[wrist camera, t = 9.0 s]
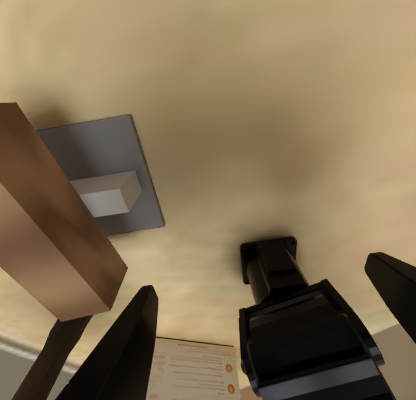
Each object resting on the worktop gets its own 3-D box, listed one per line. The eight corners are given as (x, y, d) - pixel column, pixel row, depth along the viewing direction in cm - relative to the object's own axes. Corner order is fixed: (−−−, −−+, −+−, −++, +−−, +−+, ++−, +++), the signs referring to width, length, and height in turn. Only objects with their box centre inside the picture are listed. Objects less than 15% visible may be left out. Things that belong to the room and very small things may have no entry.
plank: (127, 267, 18) (110, 310, 14) (88, 277, 18) (61, 321, 15) (16, 102, 11) (-67, 105, 8) (-43, 123, 12) (-147, 134, 8)
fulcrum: (165, 223, 21) (157, 253, 17) (58, 240, 21) (26, 273, 17) (130, 114, 16) (108, 120, 12) (-10, 138, 16) (-77, 152, 12)
